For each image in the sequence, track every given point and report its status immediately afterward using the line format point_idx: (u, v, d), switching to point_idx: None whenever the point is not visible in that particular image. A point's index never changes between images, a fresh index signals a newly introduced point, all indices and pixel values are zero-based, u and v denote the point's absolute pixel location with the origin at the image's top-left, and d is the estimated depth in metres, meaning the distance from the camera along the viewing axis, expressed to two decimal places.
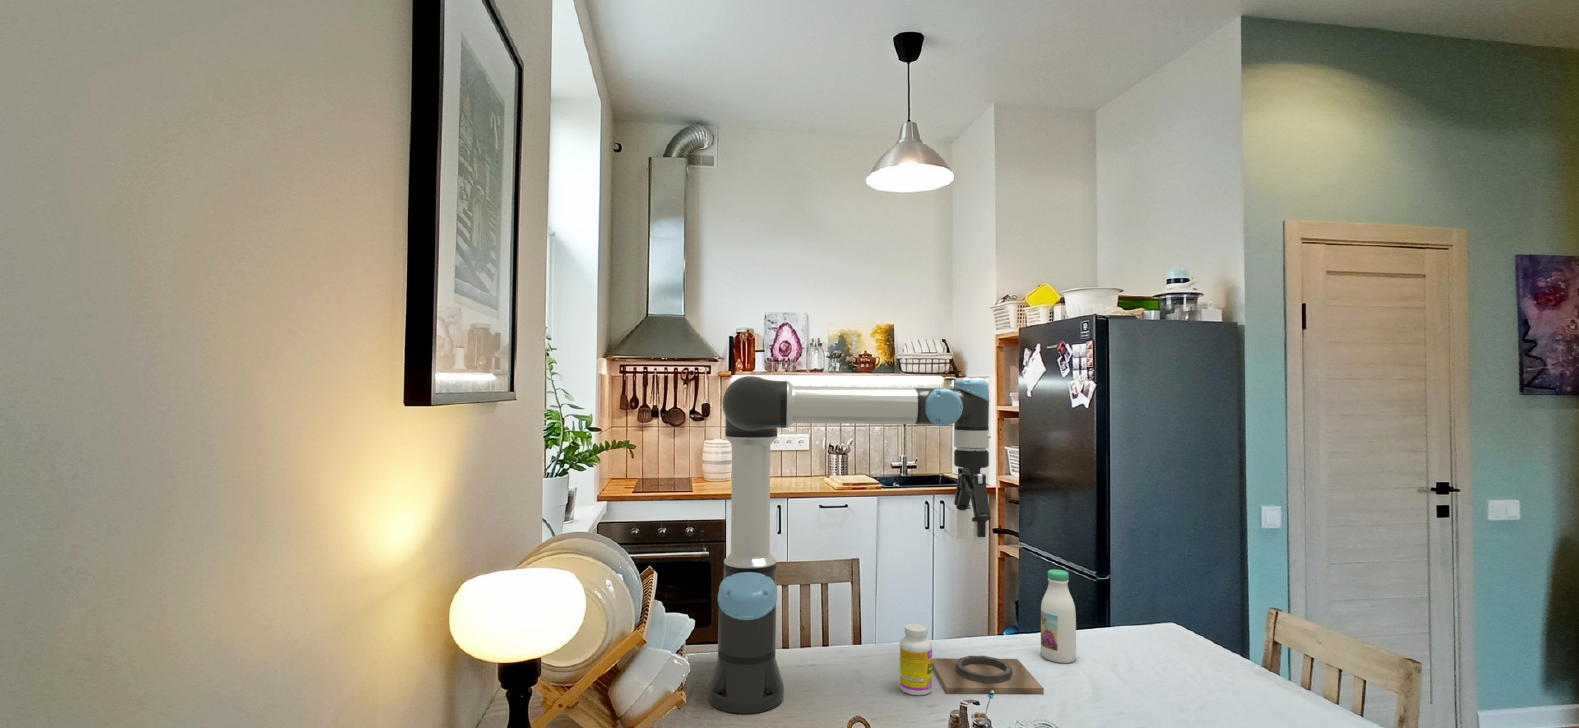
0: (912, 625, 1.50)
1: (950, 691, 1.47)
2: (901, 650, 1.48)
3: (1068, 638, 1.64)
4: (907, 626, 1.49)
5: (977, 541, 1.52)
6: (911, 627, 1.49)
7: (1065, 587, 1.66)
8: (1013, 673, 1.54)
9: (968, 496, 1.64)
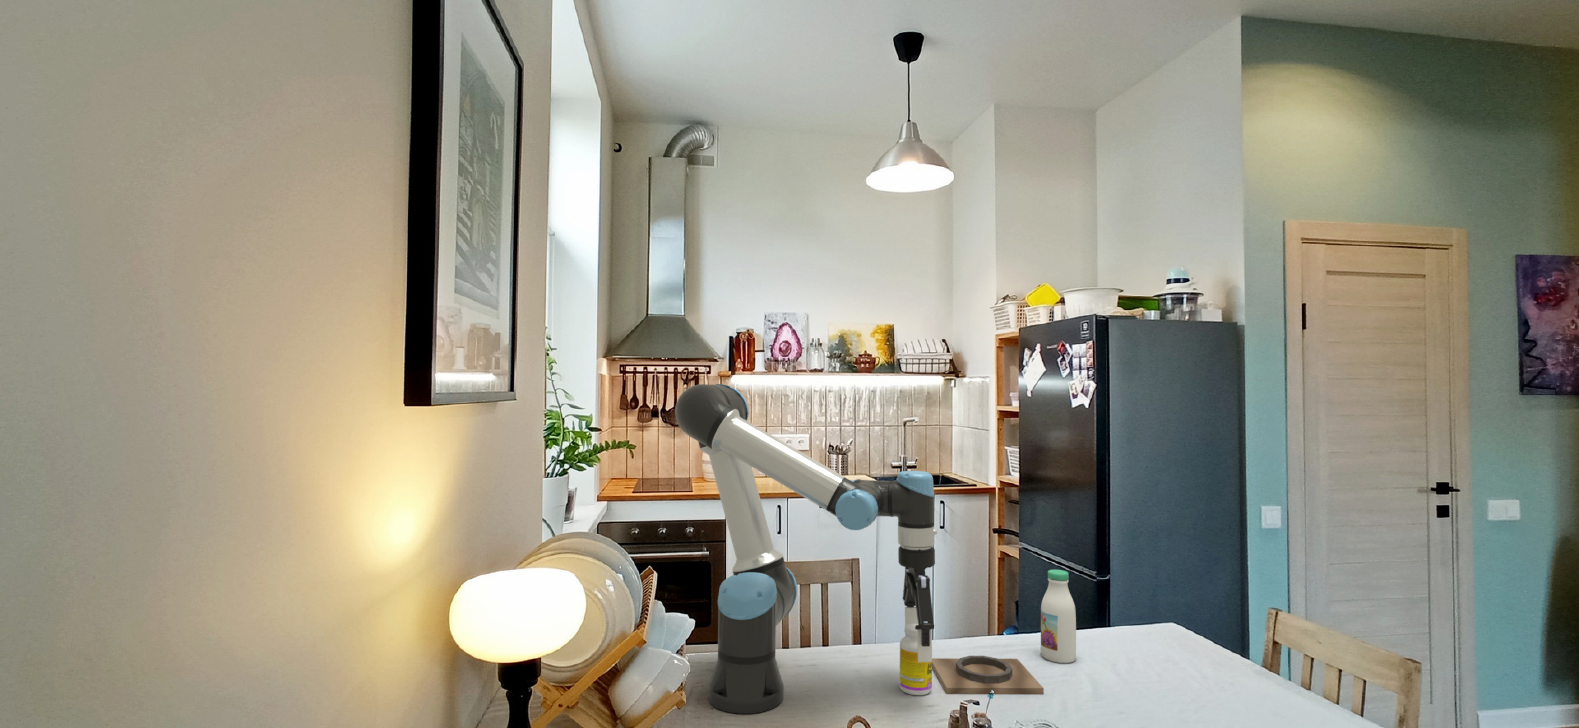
0: (912, 625, 1.50)
1: (950, 691, 1.47)
2: (901, 650, 1.48)
3: (1068, 638, 1.64)
4: (907, 626, 1.49)
5: (921, 650, 1.42)
6: (911, 627, 1.49)
7: (1065, 587, 1.66)
8: (1013, 673, 1.54)
9: None
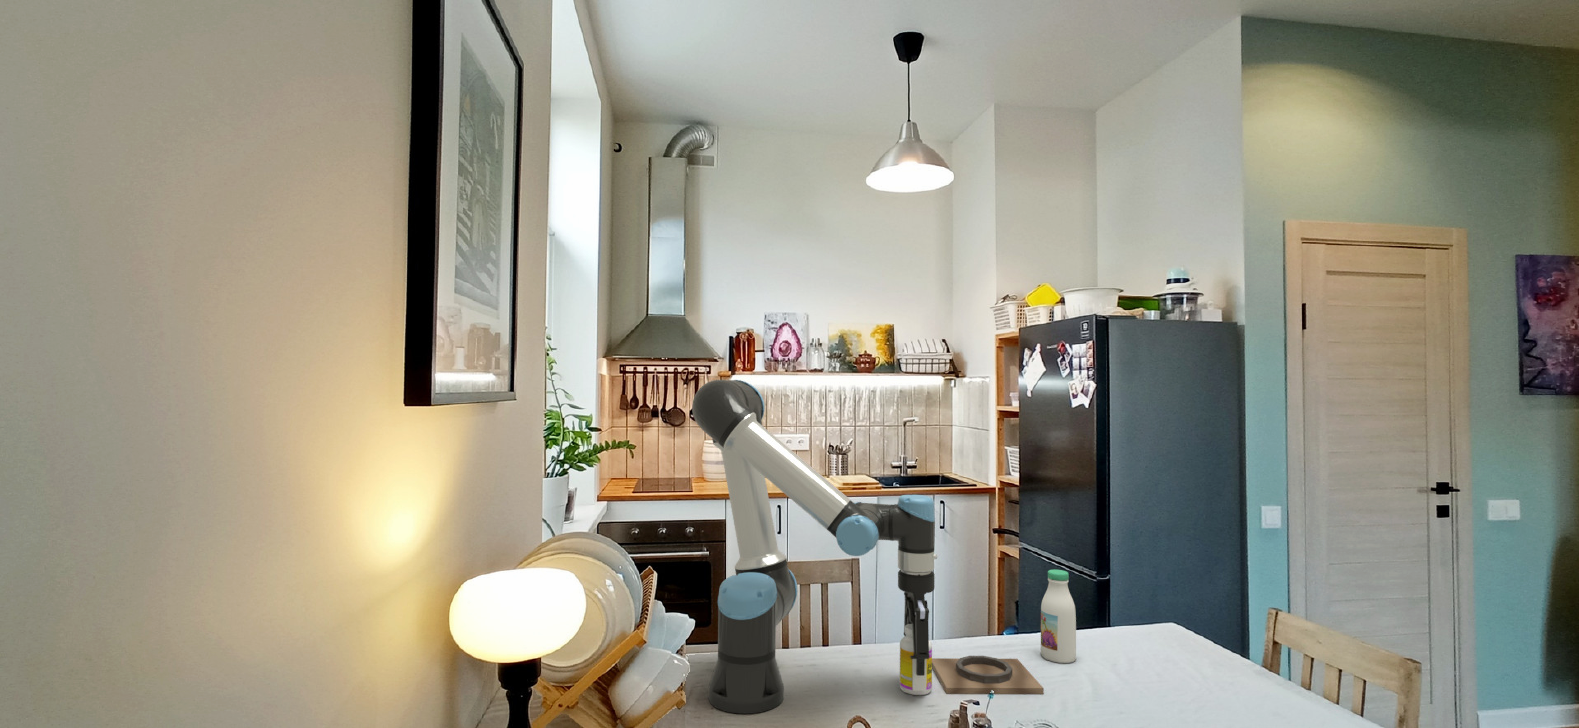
0: None
1: (950, 691, 1.47)
2: (901, 650, 1.48)
3: (1068, 638, 1.64)
4: (907, 626, 1.49)
5: (916, 679, 1.45)
6: (911, 627, 1.49)
7: (1065, 587, 1.66)
8: (1013, 673, 1.54)
9: None
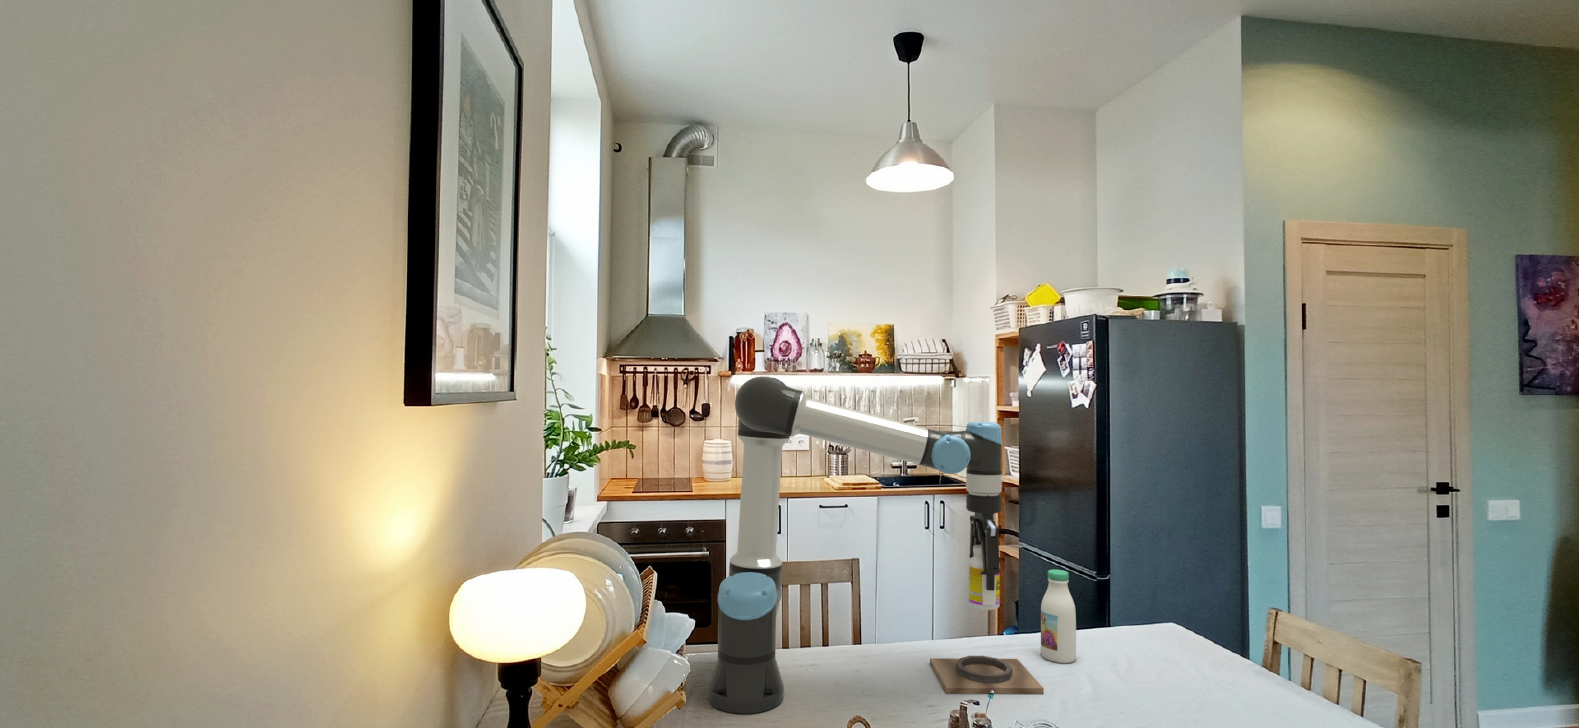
0: (980, 545, 1.57)
1: (950, 691, 1.47)
2: (970, 568, 1.55)
3: (1068, 638, 1.64)
4: (975, 546, 1.56)
5: (986, 594, 1.51)
6: (979, 547, 1.56)
7: (1065, 587, 1.66)
8: (1013, 673, 1.54)
9: None
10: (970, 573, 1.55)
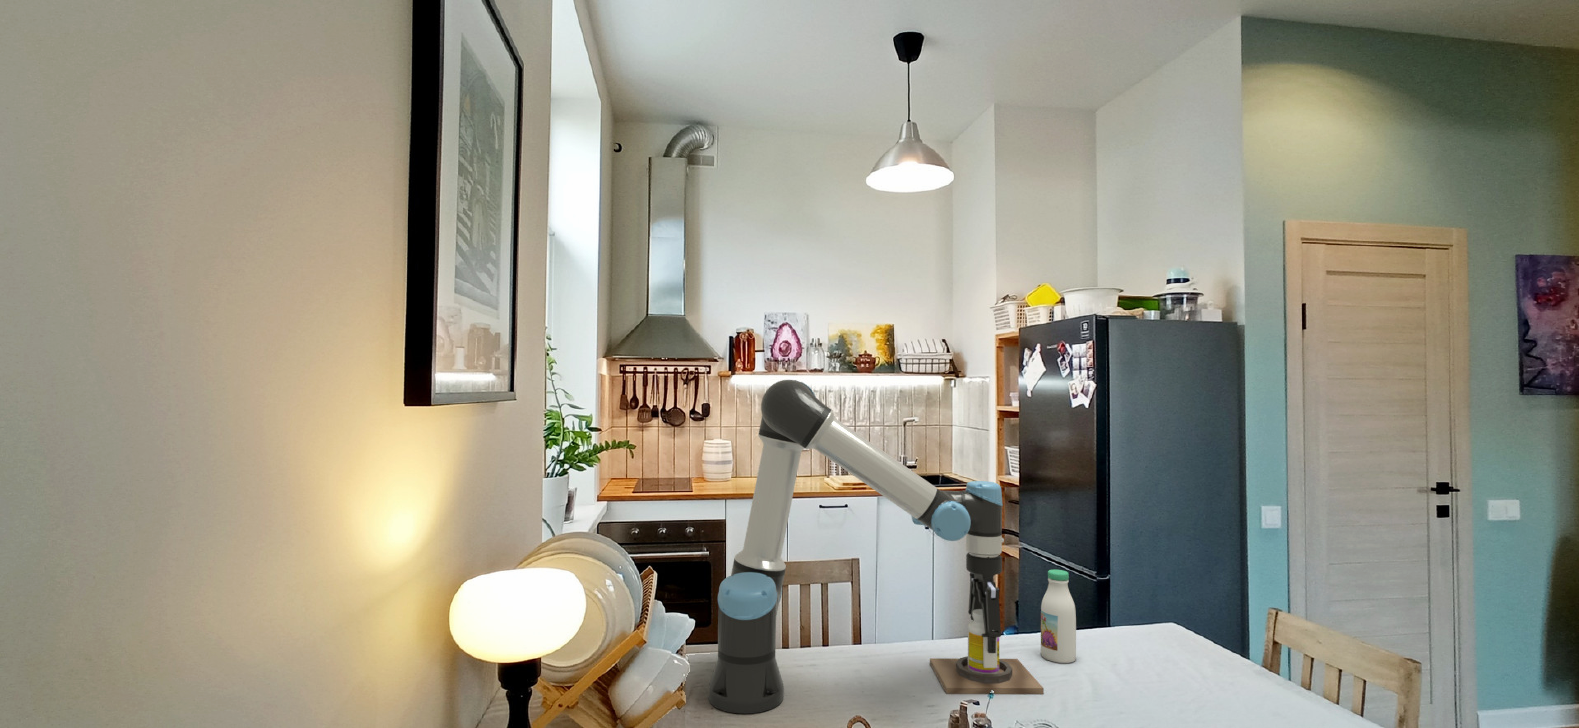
0: (980, 610, 1.56)
1: (950, 691, 1.47)
2: (970, 634, 1.54)
3: (1068, 638, 1.64)
4: (975, 611, 1.56)
5: (987, 656, 1.50)
6: (979, 612, 1.55)
7: (1065, 587, 1.66)
8: (1013, 673, 1.54)
9: None
10: (969, 639, 1.54)
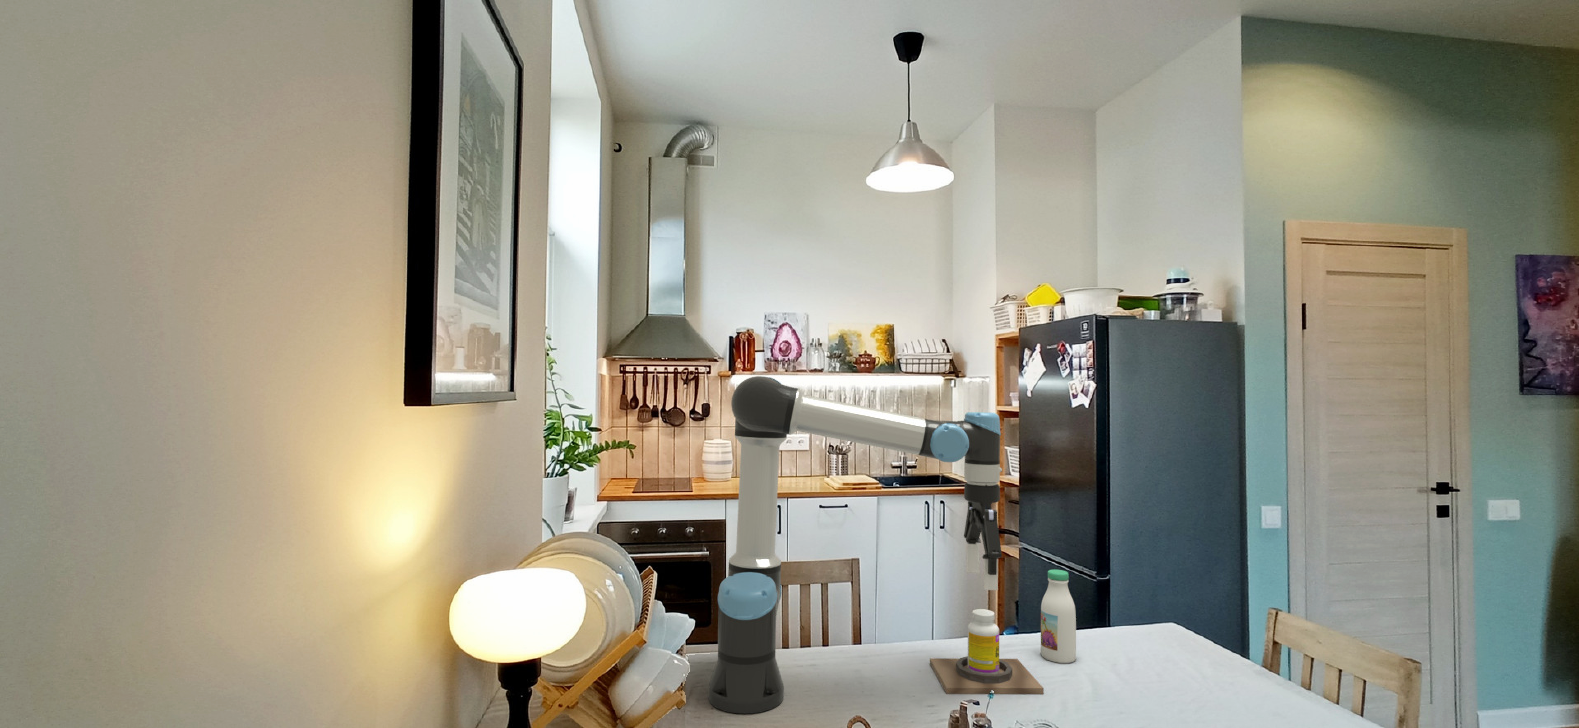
0: (979, 610, 1.56)
1: (950, 691, 1.47)
2: (970, 634, 1.54)
3: (1068, 638, 1.64)
4: (975, 611, 1.56)
5: (988, 578, 1.49)
6: (979, 612, 1.55)
7: (1065, 587, 1.66)
8: (1013, 673, 1.54)
9: (978, 530, 1.61)
10: (969, 639, 1.54)
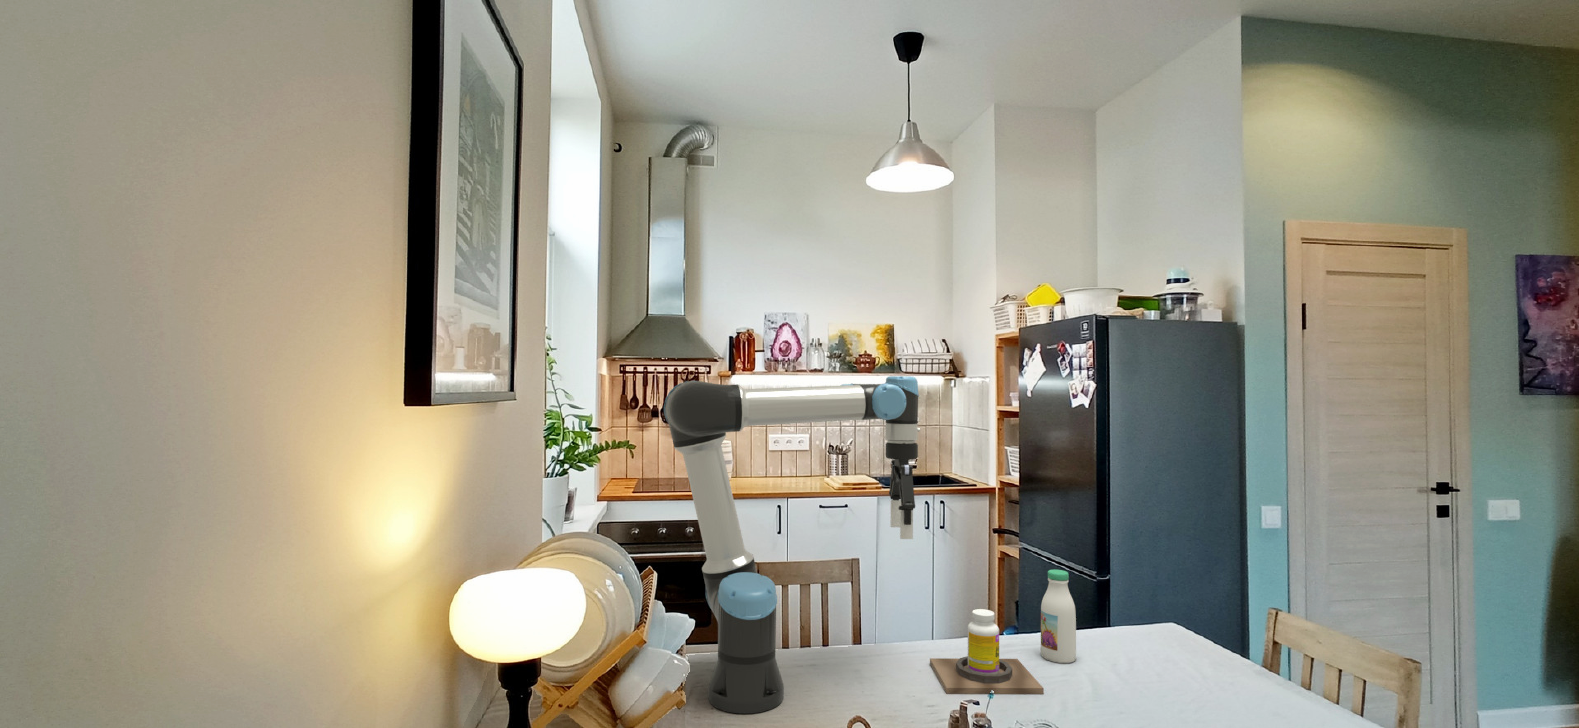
0: (979, 610, 1.56)
1: (950, 691, 1.47)
2: (969, 634, 1.54)
3: (1068, 638, 1.64)
4: (975, 611, 1.56)
5: (904, 528, 1.60)
6: (979, 612, 1.55)
7: (1065, 587, 1.66)
8: (1013, 673, 1.54)
9: None
10: (969, 639, 1.54)
